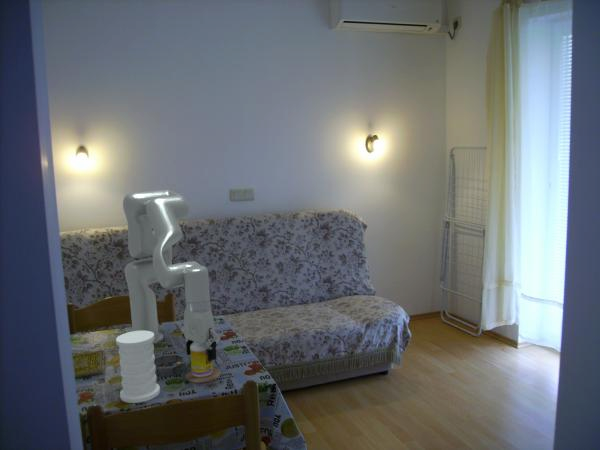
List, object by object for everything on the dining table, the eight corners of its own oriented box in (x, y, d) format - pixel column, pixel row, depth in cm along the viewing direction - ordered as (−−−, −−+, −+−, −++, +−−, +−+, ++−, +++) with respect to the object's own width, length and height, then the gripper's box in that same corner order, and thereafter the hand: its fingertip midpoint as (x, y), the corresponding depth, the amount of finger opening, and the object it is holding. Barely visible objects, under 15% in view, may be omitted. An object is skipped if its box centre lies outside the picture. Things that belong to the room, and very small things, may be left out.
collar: (141, 370, 179) (140, 361, 179) (170, 358, 189) (170, 349, 188) (165, 379, 172) (164, 369, 171) (194, 365, 181) (194, 356, 181)
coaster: (178, 378, 172) (178, 376, 172) (204, 366, 180) (204, 364, 180) (202, 386, 165) (202, 384, 165) (227, 373, 174) (227, 371, 174)
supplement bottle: (208, 378, 169) (205, 339, 167) (188, 377, 170) (185, 338, 169) (216, 370, 176) (213, 332, 174) (196, 369, 177) (194, 331, 175)
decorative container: (126, 386, 167) (120, 331, 165) (163, 384, 168) (159, 329, 165) (115, 404, 156) (109, 344, 153) (155, 401, 156) (150, 342, 154)
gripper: (170, 304, 172) (174, 355, 174) (208, 312, 161) (211, 366, 164) (188, 298, 178) (192, 347, 180) (226, 306, 167) (229, 358, 170)
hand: (201, 356), depth 172 cm, fingers open, 9 cm apart
